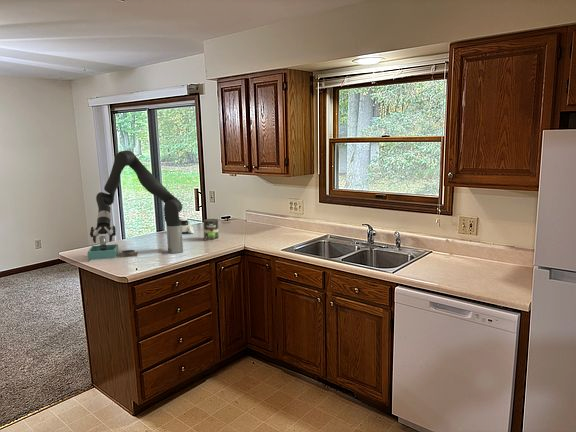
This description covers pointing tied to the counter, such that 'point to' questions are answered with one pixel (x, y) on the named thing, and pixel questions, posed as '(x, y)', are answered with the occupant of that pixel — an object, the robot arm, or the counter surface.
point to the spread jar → (186, 226)
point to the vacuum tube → (102, 243)
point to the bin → (103, 252)
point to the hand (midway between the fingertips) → (102, 241)
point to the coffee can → (211, 229)
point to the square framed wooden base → (127, 253)
